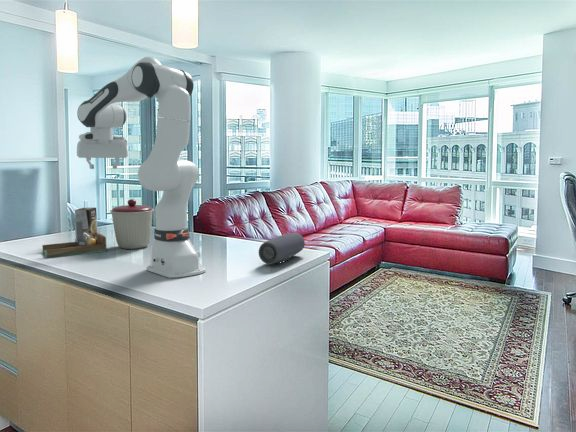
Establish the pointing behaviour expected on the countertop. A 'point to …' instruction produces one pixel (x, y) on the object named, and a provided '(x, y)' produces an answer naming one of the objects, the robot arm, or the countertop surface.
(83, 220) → the coffee box
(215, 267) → the countertop surface
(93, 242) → the ball
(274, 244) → the bluetooth speaker
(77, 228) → the striker
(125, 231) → the canister
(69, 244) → the brown wooden tray
